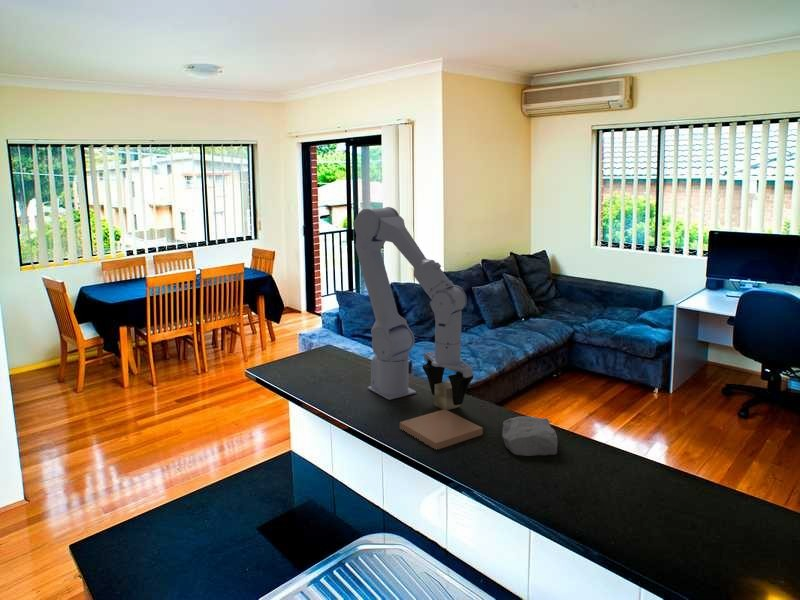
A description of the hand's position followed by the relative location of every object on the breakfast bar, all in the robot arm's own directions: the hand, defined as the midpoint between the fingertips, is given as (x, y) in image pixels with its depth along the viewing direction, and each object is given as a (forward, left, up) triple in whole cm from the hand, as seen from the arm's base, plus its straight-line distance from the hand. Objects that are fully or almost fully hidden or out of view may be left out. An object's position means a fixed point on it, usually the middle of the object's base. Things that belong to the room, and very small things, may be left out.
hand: (446, 399), depth 136 cm
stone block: (+24, +1, -2) cm, 24 cm away
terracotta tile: (+10, -10, -2) cm, 14 cm away
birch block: (0, 0, -2) cm, 2 cm away
